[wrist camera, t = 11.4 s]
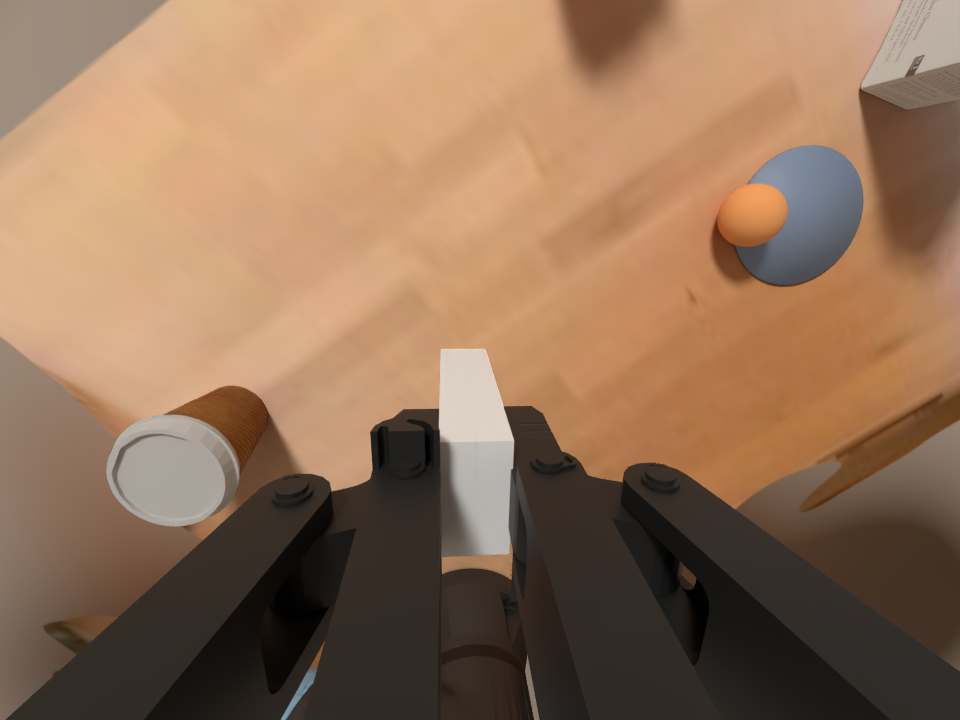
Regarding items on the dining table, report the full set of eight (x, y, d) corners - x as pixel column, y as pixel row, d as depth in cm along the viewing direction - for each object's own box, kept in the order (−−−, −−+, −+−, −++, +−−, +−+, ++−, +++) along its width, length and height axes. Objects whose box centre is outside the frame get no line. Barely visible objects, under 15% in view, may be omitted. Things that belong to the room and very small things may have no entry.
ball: (793, 250, 40) (739, 248, 39) (747, 245, 45) (698, 243, 44) (811, 184, 38) (755, 179, 37) (761, 186, 43) (711, 182, 42)
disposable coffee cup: (241, 352, 44) (170, 400, 33) (303, 426, 47) (257, 493, 35) (165, 401, 45) (70, 464, 33) (230, 471, 48) (163, 551, 36)
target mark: (842, 285, 46) (843, 285, 46) (722, 284, 46) (723, 284, 45) (877, 147, 43) (879, 147, 42) (747, 143, 42) (748, 143, 41)
